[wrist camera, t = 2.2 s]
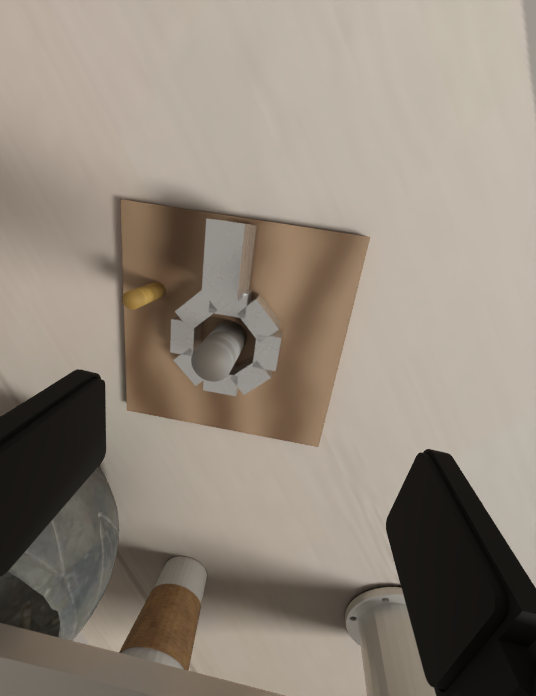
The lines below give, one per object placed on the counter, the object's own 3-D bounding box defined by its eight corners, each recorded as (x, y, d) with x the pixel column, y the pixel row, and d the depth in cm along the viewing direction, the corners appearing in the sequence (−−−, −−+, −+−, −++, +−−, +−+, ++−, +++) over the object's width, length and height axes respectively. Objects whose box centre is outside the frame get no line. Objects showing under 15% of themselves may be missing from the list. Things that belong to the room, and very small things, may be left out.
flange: (299, 231, 24) (297, 232, 19) (272, 391, 29) (266, 422, 25) (184, 214, 25) (155, 210, 20) (177, 374, 30) (154, 401, 25)
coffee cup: (143, 562, 43) (64, 724, 29) (187, 540, 40) (123, 706, 26) (184, 599, 44) (128, 768, 30) (229, 580, 42) (190, 755, 28)
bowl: (70, 554, 44) (-40, 705, 30) (-42, 441, 39) (-240, 560, 25) (188, 510, 38) (119, 672, 24) (75, 370, 33) (-96, 474, 19)
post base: (367, 236, 25) (389, 238, 18) (317, 439, 32) (320, 494, 26) (128, 200, 26) (67, 190, 19) (133, 404, 33) (89, 447, 27)
